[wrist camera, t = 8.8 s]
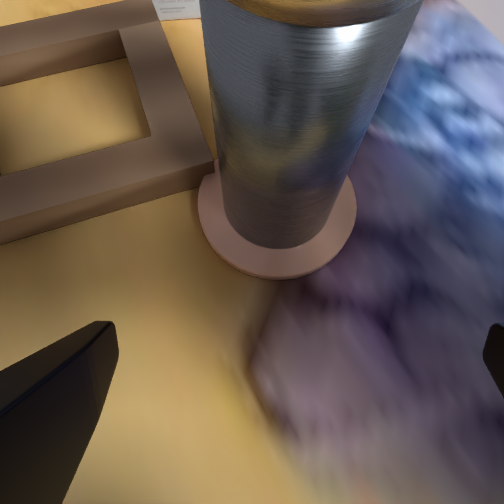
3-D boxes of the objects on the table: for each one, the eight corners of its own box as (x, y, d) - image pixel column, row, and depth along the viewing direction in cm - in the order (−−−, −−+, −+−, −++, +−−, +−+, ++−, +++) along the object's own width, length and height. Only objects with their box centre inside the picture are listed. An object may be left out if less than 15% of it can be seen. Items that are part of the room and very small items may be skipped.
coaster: (327, 303, 17) (330, 299, 16) (173, 246, 18) (170, 240, 17) (368, 171, 20) (373, 162, 19) (234, 129, 21) (233, 119, 20)
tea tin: (284, 274, 17) (359, 14, 6) (198, 203, 18) (119, -117, 7) (354, 196, 18) (520, -123, 7) (270, 137, 20) (300, -206, 9)
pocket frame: (216, 181, 19) (213, 160, 18) (-46, 257, 18) (-76, 242, 16) (156, 22, 24) (149, -5, 23) (-54, 70, 22) (-78, 43, 21)
